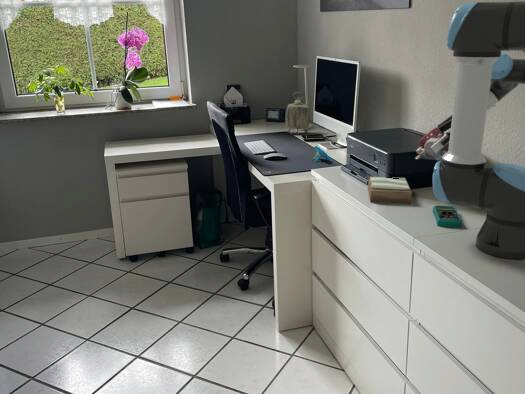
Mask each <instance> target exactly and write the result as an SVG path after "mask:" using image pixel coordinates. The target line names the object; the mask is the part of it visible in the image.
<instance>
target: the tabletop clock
mask: <svg viewBox="0 0 525 394" xmlns="http://www.w3.org/2000/svg"><path fill="white" fill-rule="evenodd" d="M295 94H302V95H303V96H302V97H300V96H297V97H295V96H294V95H295ZM304 97H305V94H304V93H303V92H301V91H296V92H294V93H292V98H293V99H295V100H294V102H293V103H289V104H287V107H286V110H285V124H286V127H287V128H288V130H287V133H289V134H290V132H291V130H296V133H295V134H296V135H299V134H300V132H299V130H304V133H305V134H308V132H309V131H308V130H307V129H308V128H309V125H310V121H311V109H310V105H309V104H307V103H303V102H302V99H303V98H304Z"/></svg>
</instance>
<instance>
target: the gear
mask: <svg viewBox="0 0 525 394" xmlns="http://www.w3.org/2000/svg"><path fill="white" fill-rule="evenodd" d="M313 148H314V149H315V151H316V152H315V156H314V157H313V160H314V161H315V162H316V163H317V162H318V161H319V160H320V159H321V158H324V159H325V160H327V161H329V162H330V161H331V160H332V158H331V156H330V155H328V153H327V152H325V151H324V149H322V148H320V146H317V145H314V147H313Z"/></svg>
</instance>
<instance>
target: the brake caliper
mask: <svg viewBox="0 0 525 394" xmlns="http://www.w3.org/2000/svg"><path fill="white" fill-rule="evenodd" d="M431 134H433V136H431ZM444 135H445V134H444ZM444 135H443V133H442V132H441V131H440V130H439V128H438V127H437V126H436V127H434V128H432V129H431V130H429V132H428V133H426V134H425V135H424V136H422V137H421V138H420V139H419V140H418V148H417V149H415V153H416V154H417V156H415V160H420V159H423V160H424V159H425V160H434V161H442V156H443V155H444V154H445V153H447V152H448V150H449V143H448V144H446V145H445V146H444V147H443V148H442V149H441V150H439V151H438V152H437V153H435V152H434V151H433V149H432V148H431V146H433V145H434V144H435V143H436V142H437V141H438V140H440V139H441V138H442V137H443V136H444ZM427 137H428V138H427ZM429 139H430V140H429ZM426 140H428V141H427V142H426Z"/></svg>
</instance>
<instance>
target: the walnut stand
mask: <svg viewBox="0 0 525 394" xmlns="http://www.w3.org/2000/svg"><path fill="white" fill-rule="evenodd" d="M386 177H387V176H369V177H368V180H367V181H368V182H367V191H368V196H369V201H370V203H374V204H377V203H381V204H382V203H383V204H398V205H399V204H402V205H411V203H412V196H413V195H412V194H413V192H412V190H411V188H410V185H409V183H408V181H407V179H406V177H398V178H399V179H393V178H394V177H392V178H386Z"/></svg>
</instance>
